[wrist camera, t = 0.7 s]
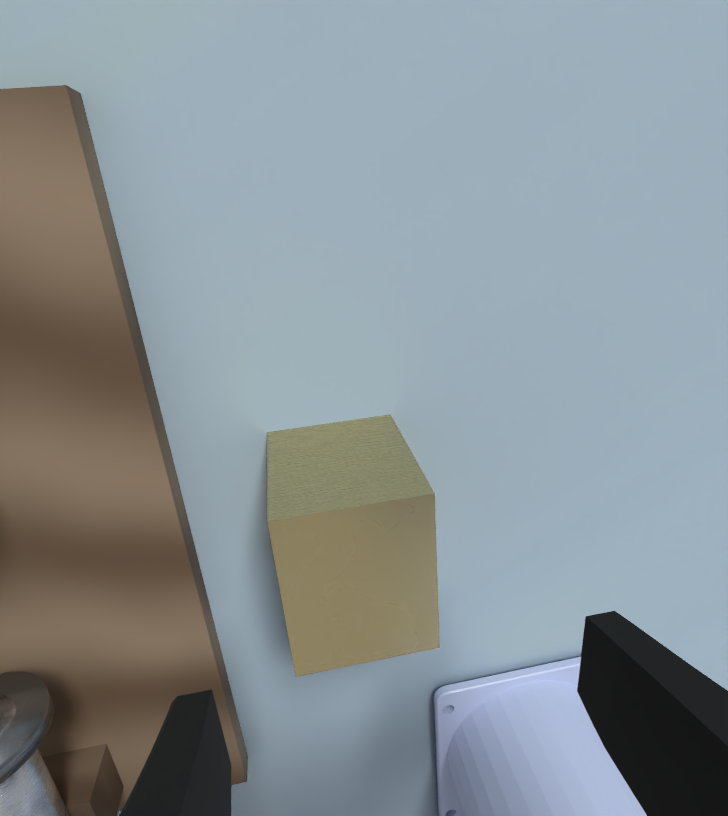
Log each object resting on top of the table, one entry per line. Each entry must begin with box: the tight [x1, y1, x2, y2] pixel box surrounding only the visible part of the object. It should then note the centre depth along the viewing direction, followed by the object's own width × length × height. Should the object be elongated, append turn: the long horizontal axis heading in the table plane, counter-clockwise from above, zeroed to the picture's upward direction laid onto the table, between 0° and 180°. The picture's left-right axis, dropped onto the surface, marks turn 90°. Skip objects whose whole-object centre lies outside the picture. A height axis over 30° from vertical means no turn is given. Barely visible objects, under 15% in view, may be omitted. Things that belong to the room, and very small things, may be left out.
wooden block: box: [267, 415, 440, 677], centre depth 16 cm, size 5×4×5 cm
